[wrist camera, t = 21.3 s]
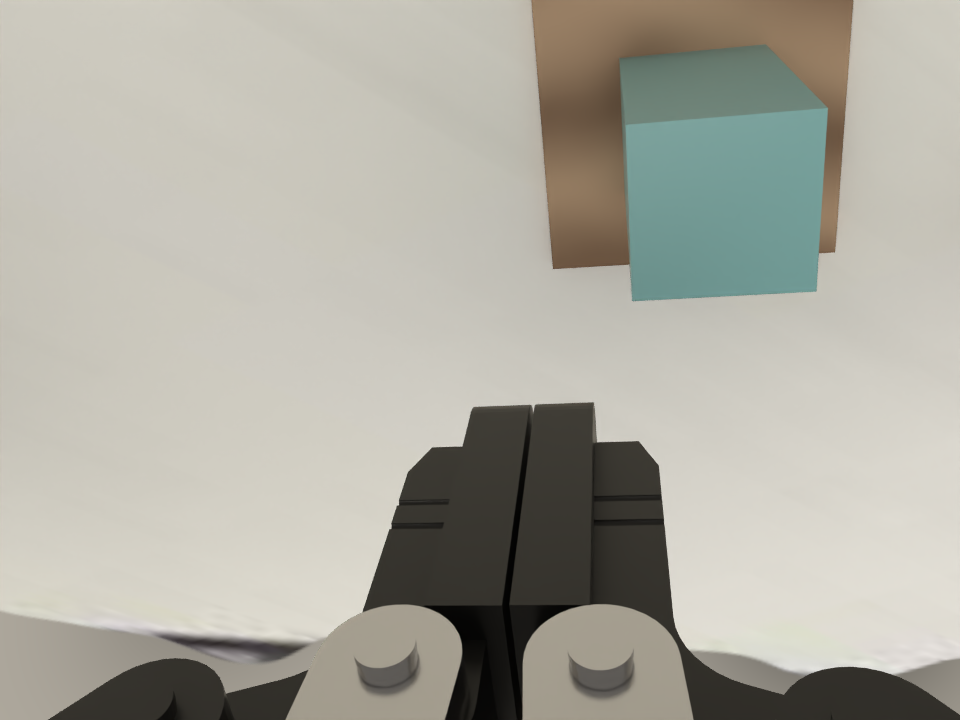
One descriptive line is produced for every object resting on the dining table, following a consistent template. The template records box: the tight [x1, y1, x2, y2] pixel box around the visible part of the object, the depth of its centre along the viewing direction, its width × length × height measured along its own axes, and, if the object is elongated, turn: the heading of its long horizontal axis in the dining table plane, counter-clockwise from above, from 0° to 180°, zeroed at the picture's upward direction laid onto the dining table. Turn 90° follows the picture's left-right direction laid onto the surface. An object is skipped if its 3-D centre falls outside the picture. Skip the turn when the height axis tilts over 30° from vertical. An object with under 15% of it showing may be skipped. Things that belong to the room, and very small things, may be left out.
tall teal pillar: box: [619, 44, 828, 301], centre depth 32 cm, size 6×6×11 cm
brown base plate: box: [532, 0, 853, 269], centre depth 34 cm, size 12×12×8 cm
